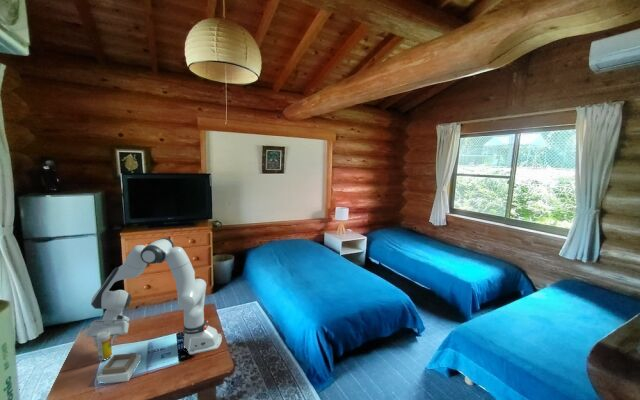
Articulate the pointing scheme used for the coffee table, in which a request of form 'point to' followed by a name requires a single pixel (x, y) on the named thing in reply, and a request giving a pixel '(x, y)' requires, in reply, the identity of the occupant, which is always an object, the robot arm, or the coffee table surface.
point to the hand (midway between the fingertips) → (103, 344)
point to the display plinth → (119, 368)
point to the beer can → (103, 345)
